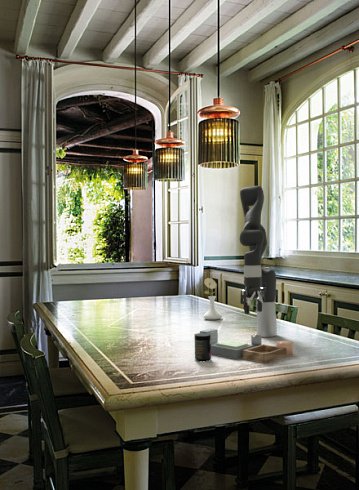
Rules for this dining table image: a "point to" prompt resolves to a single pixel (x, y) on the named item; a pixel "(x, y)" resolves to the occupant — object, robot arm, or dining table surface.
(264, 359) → the brown wooden tray
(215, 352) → the checker base
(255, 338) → the cell
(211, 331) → the medicine box
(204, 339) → the supplement container
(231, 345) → the pale green panel
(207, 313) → the flower in vase
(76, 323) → the dining table surface
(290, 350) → the peach dome knob
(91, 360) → the dining table surface
